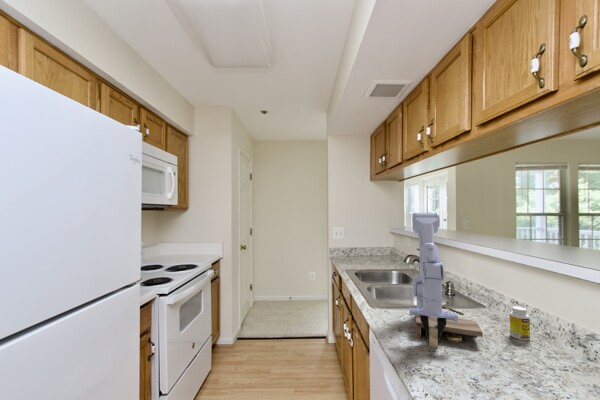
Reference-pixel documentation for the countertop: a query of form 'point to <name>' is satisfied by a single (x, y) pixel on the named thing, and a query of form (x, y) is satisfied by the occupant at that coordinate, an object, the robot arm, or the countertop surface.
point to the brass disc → (453, 337)
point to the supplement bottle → (519, 323)
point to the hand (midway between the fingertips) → (433, 339)
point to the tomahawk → (453, 310)
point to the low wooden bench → (453, 327)
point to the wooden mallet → (433, 336)
